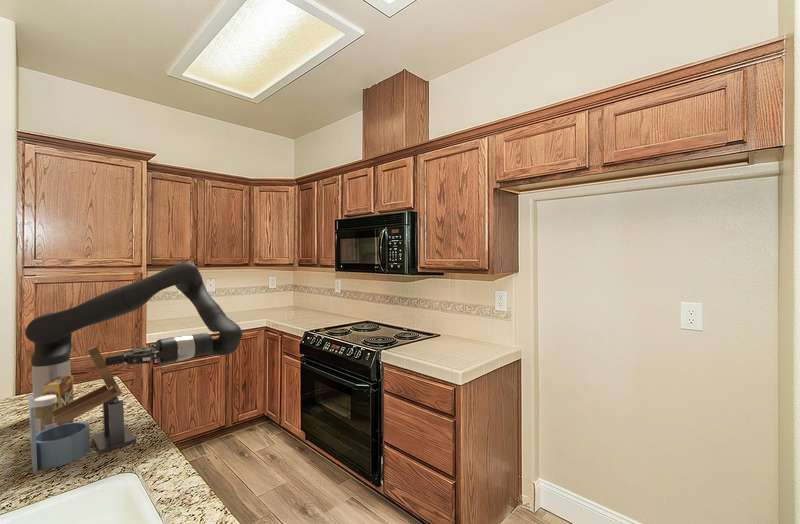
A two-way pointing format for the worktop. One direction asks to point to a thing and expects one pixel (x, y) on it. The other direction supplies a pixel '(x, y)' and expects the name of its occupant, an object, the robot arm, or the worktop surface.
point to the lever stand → (113, 428)
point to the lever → (92, 398)
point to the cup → (57, 442)
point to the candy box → (60, 390)
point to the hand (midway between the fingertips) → (105, 361)
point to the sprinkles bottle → (45, 412)
